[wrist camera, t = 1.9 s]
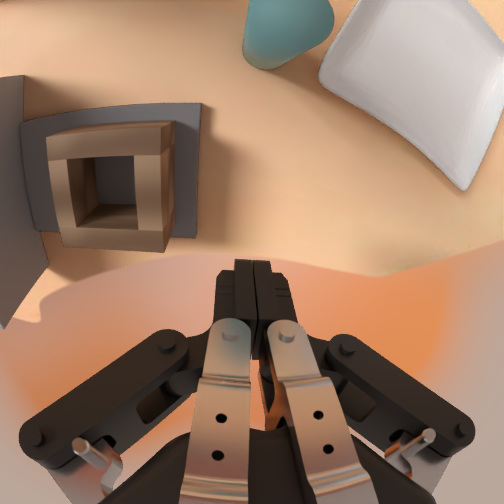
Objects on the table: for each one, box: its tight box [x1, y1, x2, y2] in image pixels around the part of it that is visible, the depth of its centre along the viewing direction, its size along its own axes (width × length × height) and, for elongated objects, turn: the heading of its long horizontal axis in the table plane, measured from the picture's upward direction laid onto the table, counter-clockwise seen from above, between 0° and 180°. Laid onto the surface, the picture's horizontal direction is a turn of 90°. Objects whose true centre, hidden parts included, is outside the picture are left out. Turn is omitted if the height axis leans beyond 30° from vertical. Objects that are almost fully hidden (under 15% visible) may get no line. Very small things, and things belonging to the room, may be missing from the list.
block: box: [46, 120, 176, 253], centre depth 21 cm, size 10×10×5 cm
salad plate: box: [318, 0, 504, 191], centre depth 18 cm, size 21×21×3 cm
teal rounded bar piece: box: [242, 0, 334, 70], centre depth 14 cm, size 4×4×12 cm
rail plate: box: [20, 103, 202, 238], centre depth 23 cm, size 13×20×1 cm, turn 84°
